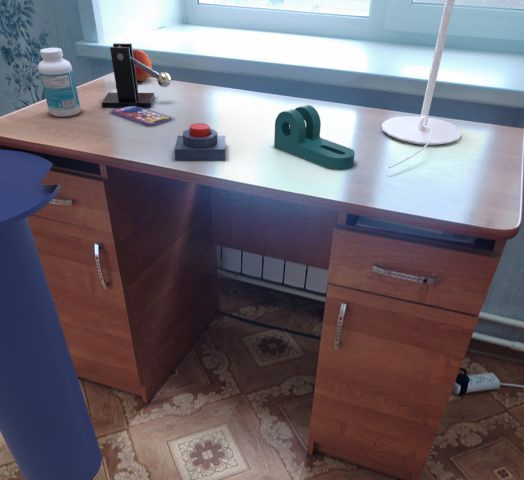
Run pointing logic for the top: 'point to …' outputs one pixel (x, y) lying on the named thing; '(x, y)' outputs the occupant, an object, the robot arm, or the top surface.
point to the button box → (200, 147)
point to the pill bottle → (58, 83)
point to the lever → (153, 73)
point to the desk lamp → (426, 106)
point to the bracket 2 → (309, 139)
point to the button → (199, 130)
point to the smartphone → (141, 115)
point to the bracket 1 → (125, 81)
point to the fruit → (145, 60)
